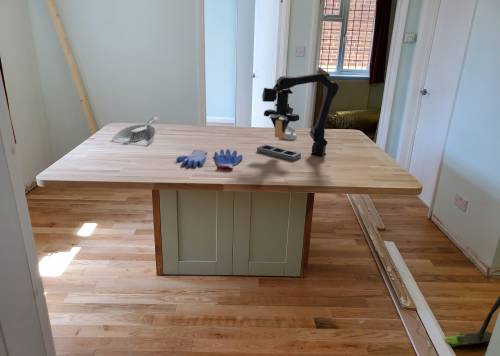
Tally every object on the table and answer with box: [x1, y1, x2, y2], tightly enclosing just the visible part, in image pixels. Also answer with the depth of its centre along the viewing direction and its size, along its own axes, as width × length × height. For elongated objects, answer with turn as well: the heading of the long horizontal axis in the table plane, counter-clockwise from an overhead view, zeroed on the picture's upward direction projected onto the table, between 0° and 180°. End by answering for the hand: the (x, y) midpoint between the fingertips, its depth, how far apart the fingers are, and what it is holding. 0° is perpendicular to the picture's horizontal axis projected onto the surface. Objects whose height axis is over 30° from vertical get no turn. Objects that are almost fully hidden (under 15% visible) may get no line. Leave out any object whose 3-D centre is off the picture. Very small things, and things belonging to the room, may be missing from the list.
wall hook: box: [282, 123, 298, 141], centre depth 242 cm, size 9×10×10 cm
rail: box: [256, 144, 302, 162], centre depth 210 cm, size 23×8×2 cm, turn 54°
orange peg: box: [274, 118, 286, 139], centre depth 206 cm, size 4×4×9 cm
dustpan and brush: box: [112, 116, 159, 147], centre depth 230 cm, size 23×33×10 cm
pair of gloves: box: [176, 149, 244, 172], centre depth 196 cm, size 32×26×4 cm
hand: (280, 131), depth 206 cm, fingers closed on orange peg, 4 cm apart
